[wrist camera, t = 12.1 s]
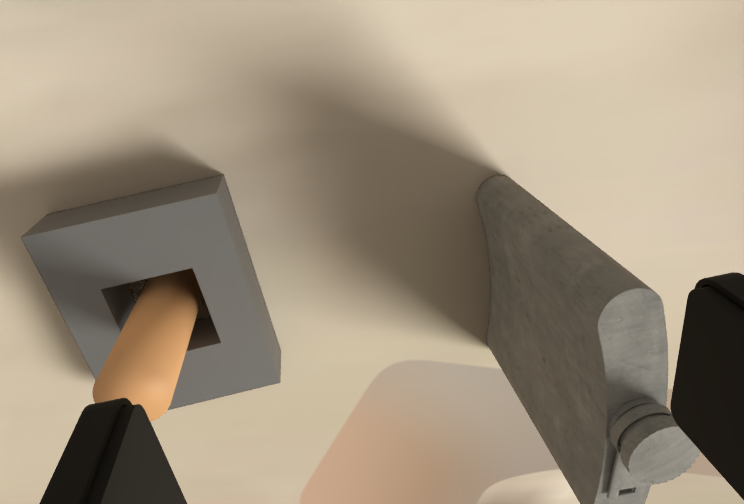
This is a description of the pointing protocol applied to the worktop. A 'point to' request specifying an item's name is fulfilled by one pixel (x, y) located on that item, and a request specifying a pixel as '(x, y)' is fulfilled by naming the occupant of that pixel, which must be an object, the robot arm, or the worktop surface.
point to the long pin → (152, 344)
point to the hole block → (154, 258)
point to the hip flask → (580, 350)
